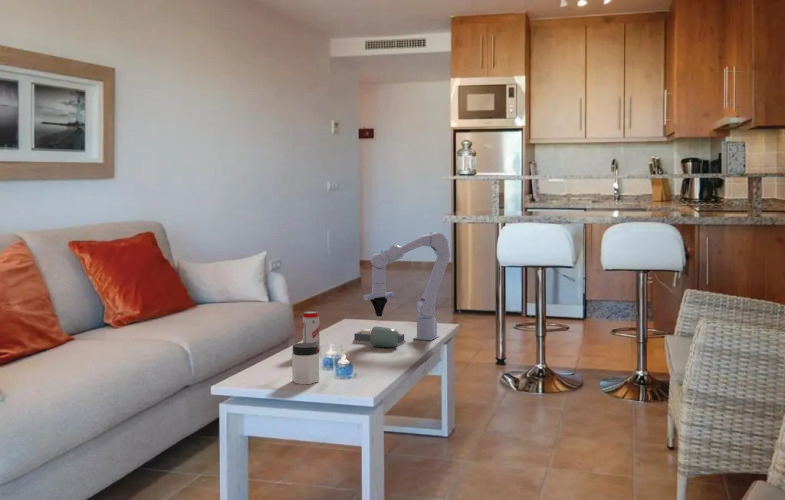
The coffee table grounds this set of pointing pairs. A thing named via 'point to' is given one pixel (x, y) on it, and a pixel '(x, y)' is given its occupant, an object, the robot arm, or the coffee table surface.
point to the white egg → (365, 331)
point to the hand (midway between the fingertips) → (379, 316)
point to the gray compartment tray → (366, 338)
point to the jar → (305, 363)
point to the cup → (384, 337)
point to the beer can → (311, 328)
